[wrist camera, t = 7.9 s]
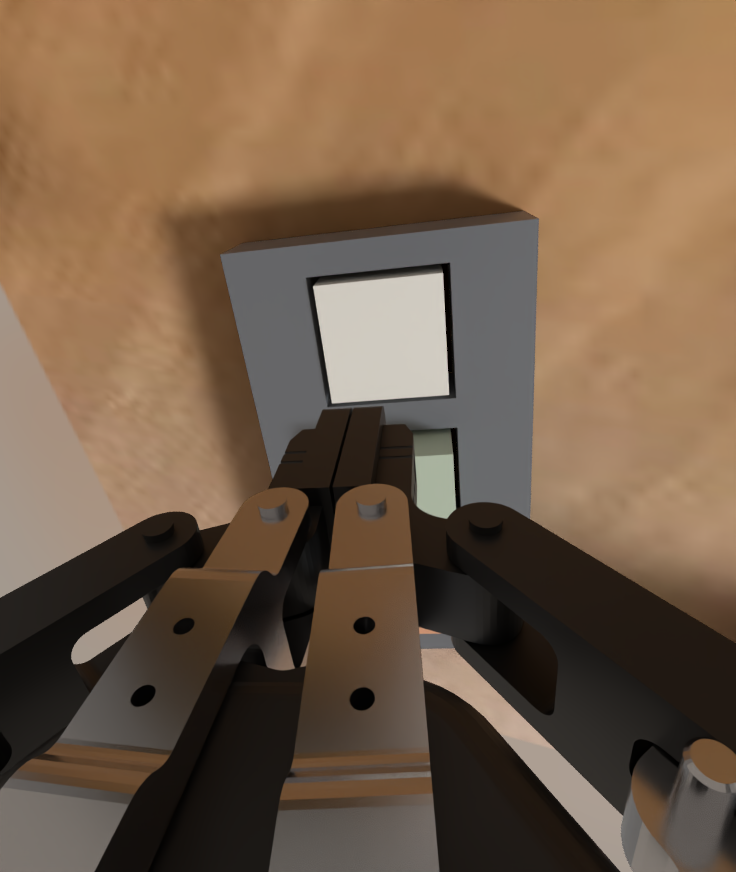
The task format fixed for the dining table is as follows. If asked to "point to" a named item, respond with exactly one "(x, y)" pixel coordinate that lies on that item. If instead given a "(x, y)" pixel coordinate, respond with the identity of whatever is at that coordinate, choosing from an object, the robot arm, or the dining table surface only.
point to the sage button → (435, 471)
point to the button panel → (469, 326)
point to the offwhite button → (384, 333)
